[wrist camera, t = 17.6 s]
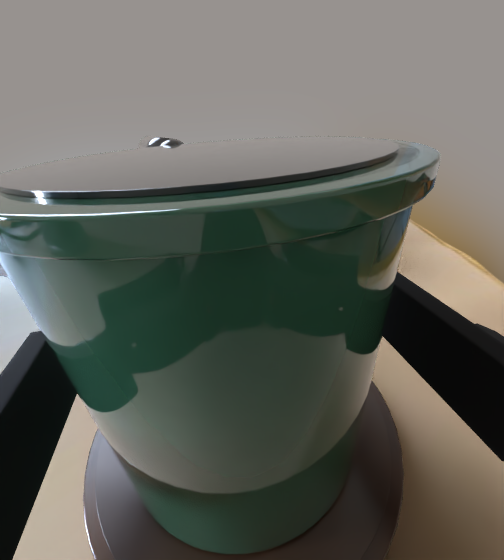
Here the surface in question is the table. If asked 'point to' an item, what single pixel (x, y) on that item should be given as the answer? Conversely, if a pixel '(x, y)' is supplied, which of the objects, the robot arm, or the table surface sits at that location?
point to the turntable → (290, 556)
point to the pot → (219, 313)
